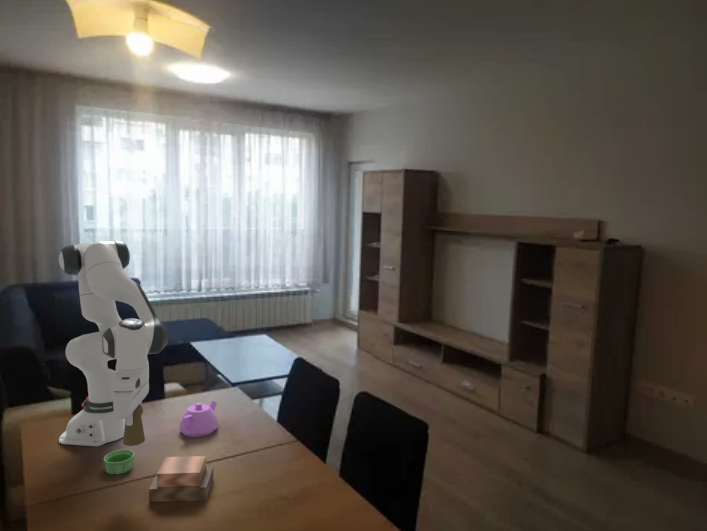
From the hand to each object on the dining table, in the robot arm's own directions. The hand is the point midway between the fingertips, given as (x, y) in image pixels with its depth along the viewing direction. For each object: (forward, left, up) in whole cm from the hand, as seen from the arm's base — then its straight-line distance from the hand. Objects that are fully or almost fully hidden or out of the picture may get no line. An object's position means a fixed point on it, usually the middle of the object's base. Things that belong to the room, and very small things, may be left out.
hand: (133, 420), depth 150 cm
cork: (0, 0, -7) cm, 7 cm away
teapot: (+11, +41, -22) cm, 48 cm away
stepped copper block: (+14, -1, -22) cm, 26 cm away
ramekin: (-9, +13, -22) cm, 27 cm away
